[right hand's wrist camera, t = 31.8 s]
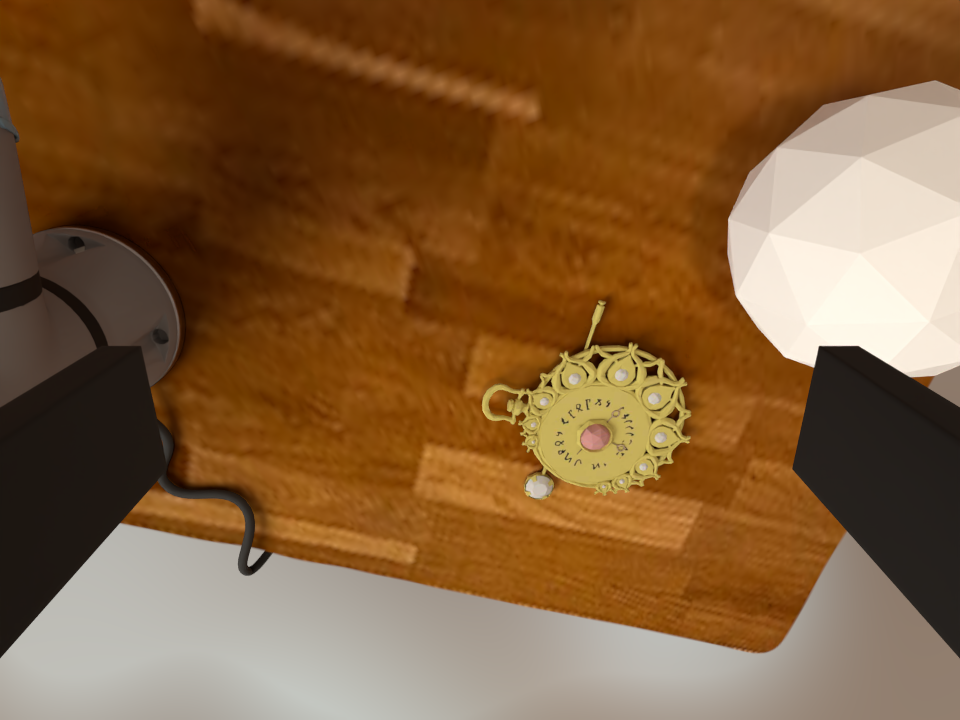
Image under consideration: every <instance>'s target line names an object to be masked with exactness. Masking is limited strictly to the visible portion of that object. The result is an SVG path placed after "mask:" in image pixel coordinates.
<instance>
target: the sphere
mask: <svg viewBox="0 0 960 720" xmlns="http://www.w3.org/2000/svg"><path fill="white" fill-rule="evenodd" d="M728 259H729V264H730V269H731V274H732V279H733V284H734V289H735V294H736V297H737V298H738V300H739V301H740V303H741V304H742V306H743V307H744V308H745V310H746V311H747V313H748V314H749V316H750V317H751V319H752V320H753V322H754V323H755V324H756V326H757V327H758V328H759V330H760V331H761V332H762V333H763V334H764V335H765V336H766V337H767V338H768V339H769V340H770V341H771V343H772V344H773V345H774V346H775V347H776V348H777V349H778V350H779V351H780V352H781V353H782V355H783V356H784V357H786V358H789V359H792V360H794V361H797V362H800V363H803V364H806V365H809V366H811V367H814V366H815V362H816V357H817V352H818V348H819V346H859V347H861V348H863V349H864V350H866V351H868V352H869V353H871V354H873V355H874V356H876V357H878V358H879V359H881V360H883V361H884V362H886V363H887V364H889V365H891V366H892V367H894V368H896V369H897V370H899V371H901V372H902V373H904V374H906V375H907V376H909V377H921V376H935V375H938V374H940V373H943V372H945V371H947V370H950V369H952V368H955V367H957V366H959V365H960V90H958V89H956V88H953V87H951V86H948V85H946V84H943V83H941V82H938V81H936V80H935V81H930V82H925V83H921V84H916V85H912V86H907V87H903V88H898V89H894V90H889V91H884V92H880V93H875V94H871V95H866V96H862V97H857V98H852V99H848V100H843V101H839V102H834V103H830V104H825V105H823V106H822V107H821V108H819V109H818V110H817V111H816V112H815V113H814V114H813V115H812V116H811V117H810V118H808V119H807V120H806V121H805V122H804V123H803V124H802V125H801V126H800V127H799V128H798V129H796V130H795V131H794V132H793V133H792V134H791V135H790V136H789V137H788V138H787V139H785V140H784V141H783V142H782V143H781V144H780V145H779V146H778V147H777V148H776V149H775V150H773V151H772V152H771V153H770V154H769V155H768V156H767V157H766V158H765V159H764V160H762V161H761V162H760V163H759V164H758V165H757V166H756V167H755V168H754V169H753V170H751V171H750V172H749V174H748V176H747V179H746V181H745V183H744V185H743V188H742V190H741V192H740V194H739V196H738V199H737V201H736V203H735V205H734V207H733V210H732V212H731V214H730V216H729V218H728Z"/></svg>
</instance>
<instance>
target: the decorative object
mask: <svg viewBox="0 0 960 720" xmlns="http://www.w3.org/2000/svg"><path fill="white" fill-rule="evenodd" d="M598 302H599V304H597V306H596V309H595V312H594V315H593V318H592V322H593V324H592V327H591V330H590V333H589V336H588V339H587V342H586V345H585V348H584V351H582V352H580V353H577V354H575V355H573V356H571V357H569V356H568V351H565V353H560V356H561V357H562V358H563V361H562V362H561V363H560V364H558V365H557V366H556V367H555V368H554V369H553V370H552V371H550V372H549V373H548V374H544V373H541V374H540V378H541V380H542V382H541V383H540V385H539V386H538V387H537V389H536V390H534V391H529V389H526V390H527V391H525V389H524V388H521V389H520V390H519V389H512V388H510V387H509V386H507V385H505V384H501V383H499V384H495V385H493V386H492V387H491V388H489V389H488V390H487V392H486V393H485V395H484V397H483V401H482V408H483V412H484V414H485V415H486V417H487V418H488V419H490V420H494V421H498V420H507V421H510V422H511V424H514V423H515V421H516V418H515V415H519V414H520V413H521V412H524V413H525V415H526V416H527V417H526V418H525V419H524V421H519V423H518V425H522V426H523V428H524V431H523V432H521V433H520V435H523V436H525V437H526V440H525V442H522V443H523V444H522V445H526V446H527V447H528V450H527V452H529V451H530V449H533V451H534V454H535V456H536V457H537V458H538V459H539V461H540V462H541V463H542V465H543V466H544V468H543V471H542V472H536V473H534V474H532V475H529V476H528V477H527V479H526V482H525V484H524V490H525V493H526V495H527V496H529V497H531V498H534V499H545V498H547V497H549V495H550V494H551V493H552V490H553V487H554V482H553V480H552V478H551V477H549V476H548V475H547V474H546V473H545V472H546V470H548V471H550V472H551V473H552V474H553V475H554V476H556V477H558V478H560V479H562V480H563V481H565V482H568V483H571V484H574V485H577V486H581V487H589V488H596V489H597V491H595V492H594V494H596V493H598V492H601V493H603V496H604V495H606V492H608V491H609V490H610V491H612V492H614V494H617V491H618V490H625V493H627V492H629V490H628V487H630V486H631V485H632V484H638V485H640V486H644V484H643V481H644V479H647V478H651V477H655V479H656V480H658V478H659V477H660V475H657V469H658V466H660V465H662V464H664V463H667V464H671V463H673V460H672V459H671V454H672V450H673V449H675V448H676V447H677V446H678V445H679V444H680V443H681V442H686V443H689V442H690V441H689V439H690V436H683V435H682V433H681V431H682V428H683V425H684V420H685V419H687V418H689V417H690V416H691V414H690V413H691V411H690V410H687V409H685V402H684V396H683V393H682V390H681V387H682V386H687V382H684V381H685V380H684V378H681V379H680V380H679V381H677V379H676V377H675V376H674V374H673V372H672V371H671V370H670V369H669V368H668V367H667V366H666V365H665V364H664V362H665V361H664V359H662V358H660V359H658V358H656V357H654V356H653V355H651V354H650V353H647V352H645V351H642V350H639V349H636V348H637V347H638V345H637V344H634V345H633V344H632V342H631V343H629V347H626V346H619V345H617V346H600V347H599V346H598V345H595V346H594V345H593V346H592V347H591V349H588V347H589V344H590V341H591V338H592V336H593V333H594V330H595V327H596V324H597V323H598V322H599V321H600V319H601V316H602V313H603V310H604V308H605V306H603V305H604V304H606V302H604V301H601V300H599V301H598ZM612 351H619V352H621V353H618V354H614V355H611V354H609V353H606V352H612ZM596 353H599V354H600V355H601V356H602V357H605V358H606V359H604V360H603V361H602V362H601V363H600V364H599V366H598V368H597V369H596V368H595V366H594V365H593V364H592V363H591V362H589V361H588V360H589V359H590V358H591V357H592V355H593V354H596ZM630 353H631V355H630ZM637 355H638V356H641V357H644V358H646V359H648V360H650V361H648V362H642V360H641V359H640V358H639V357H638V356H637ZM631 356H632V358H633V359H634V360H635V362H636V363H637V364H634V363H633V360H632V358H631ZM580 358H581V359H580ZM619 358H621V359H619ZM617 359H619V360H617ZM613 361H615V362H614V363H613ZM572 362H573V363H578V365H576V364H573V363H572ZM612 363H613V364H612ZM611 364H612V365H611ZM655 364H657V365H658V366H659V367H658V371H657V372H658V376H647V377H646V375H647V372H646V368H645V367H651V366H653V365H655ZM610 365H611V366H610ZM582 366H583V367H584V368H585V369H586V371H587V372H588V373H589V376H588V378H587V377H586V371H585V370H584V369H583V368H582ZM635 367H638V371H637V377H636V380H635V381H634V382H632V381H633V379H634V378H635ZM563 368H564V369H563ZM562 369H563V371H561V370H562ZM606 371H607V378H608V379H607V378H606V376H605V373H606ZM663 371H664V372H665V373H666V374H667V376H668V377H669V379H667V378H665V377H663ZM560 374H561V378H562V384H563V385H564V386H565V387H563V386H561V380H560ZM543 377H545V378H543ZM551 378H552V381H551V382H552V386H553V387H550V386H546V384H547V383H548V381H549V380H550V379H551ZM596 378H597V379H598V380H596ZM631 382H632V383H631ZM656 383H659V384H656ZM663 383H666V384H669V385H664V384H663ZM545 386H546V387H545ZM566 387H567V388H566ZM645 387H646V388H645ZM498 390H505V391H508V392H511V393H515V394H519V395H518V399H515V400H514V401H513V399H509V401H508V404H507V410H508V411H510V412H511V410H512V414H513V415H512V417H509V416H503V415H495V414H493V413H491V411H490V409H489V406H488V405H489V400H490V398H491V396H492V395H493V393H494V392H496V391H498ZM634 390H635V391H634ZM642 390H643V391H642ZM673 391H674V394H673V398H671V395H672V392H673ZM524 394H528V396H529V402H528V403H526V404H524V403H523V401H522V399H520V398H521V397H522V396H523V395H524ZM551 394H552V395H551ZM678 399H679V403H678V402H677V400H678ZM669 400H670V402H669V403H668V404H667V405H666V406H664V405H665V404H666V403H667V402H668V401H669ZM535 405H536V406H537V408H540V409H542V410H538V409H537V408H536V407H535ZM663 406H664V407H663ZM662 407H663V408H662ZM675 407H676V408H677V409H678V411H680V412H679V419H678V421H677V423H675V421H674V420H673V419H671V418H667V417H666V416H668V415H669V414H670V413H672V411H673V410H674V408H675ZM528 408H529V410H528ZM660 408H662V409H661V410H657V409H660ZM654 410H657V411H654ZM685 413H687V414H686V415H685ZM651 417H652V418H654V419H655V420H654V421H653V423H652V421H651ZM662 424H663V425H662ZM664 425H666V426H664ZM667 426H668V427H667ZM670 427H671V428H673V429H671V428H670ZM674 431H675V433H674ZM526 432H527V434H528V436H527V434H525V433H526ZM650 443H651V444H650ZM651 445H653V446H655V447H658V449H654V448H653V447H652V446H651ZM666 446H668V447H667V448H660V447H666ZM646 450H647V452H648V453H646V454H644V453H645V452H646ZM656 456H659V458H657V457H656ZM666 457H667V458H668V461H666V460H664V459H665V458H666ZM650 459H651V460H652V462H653V463H652V462H651V460H650ZM654 468H655V469H654ZM653 469H654V472H653ZM629 470H630V471H629ZM635 470H636V471H637V472H638V473H635ZM628 471H629V473H626V472H628ZM611 480H612V481H611ZM634 480H640V481H639V482H640V483H639V482H637V481H634ZM610 481H611V482H610ZM627 484H628V485H627ZM611 487H614V488H615V491H614V490H613V489H611Z"/></svg>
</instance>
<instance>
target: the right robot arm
mask: <svg viewBox="0 0 960 720" xmlns="http://www.w3.org/2000/svg"><path fill="white" fill-rule="evenodd" d="M18 141H19V134H18V132H17V130H16V128H15V127H14V125H13V124H12V121H11V117H10V113H9V108H8V104H7V100H6V96H5V91H4V87H3V83H2V80H1V78H0V658H1V657H2V656H3V654H4V653H5V652H6V651H7V650H8V649H9V648H10V647H11V645H12V644H13V643H14V642H15V641H16V640H17V639H18V637H19V636H20V635H21V634H22V633H23V632H24V631H25V630H26V628H27V627H28V626H29V625H30V624H31V623H32V622H33V621H34V619H35V618H36V617H37V616H38V615H39V614H40V613H41V612H42V610H43V609H44V608H45V607H46V606H47V605H48V604H49V602H50V601H51V600H52V599H53V598H54V597H55V596H56V595H57V593H58V592H59V591H60V590H61V589H62V588H63V587H64V586H65V584H66V583H67V582H68V581H69V580H70V579H71V578H72V577H73V575H74V574H75V573H76V572H77V571H78V570H79V569H80V567H81V566H82V565H83V564H84V563H85V562H86V561H87V560H88V558H89V557H90V556H91V555H92V554H93V553H94V552H95V551H96V549H97V548H98V547H99V546H100V545H101V544H102V543H103V541H104V540H105V539H106V538H107V537H108V536H109V535H110V534H111V532H112V531H113V530H114V529H115V528H116V527H117V526H118V525H119V523H120V522H121V521H122V520H123V519H124V518H125V517H126V516H127V514H128V513H129V512H130V511H131V510H132V509H133V508H134V506H135V505H136V504H137V503H138V502H139V501H140V500H141V499H142V497H143V496H144V495H145V494H146V493H147V492H148V491H149V490H150V488H151V487H152V486H153V485H154V484H155V483H156V482H157V481H158V482H159V484H160V485H161V486H162V488H164V489H165V490H166V491H167V492H168V493H170V494H172V495H174V496H177V497H181V498H188V499H205V498H218V499H225V500H229V501H231V502H233V503H235V504H236V505H237V506H238V507H239V508H240V509H241V511H242V512H243V515H244V517H245V535H244V539H243V543H242V547H241V551H240V554H239V559H238V568H239V571H240V572H241V573H242V574H243V575H246V576H249V575H252V574H254V573H255V572H257V571H258V570H259V569H260V568H261V567H262V566H263V565H264V564H265V563H266V561H267V560H268V559H269V557H270V556H271V555H272V554H273V553H271V552H267V551H264V552H263V554H262V555H261V556H260V557H259V558H258V560H257V561H256V562H255V563H254V564H253V565H251V566H250V567H248V566H247V561H248V556H249V553H250V549H251V546H252V542H253V537H254V531H255V520H254V514H253V512H252V509H251V507H250V506H249V504H248V503H247V501H246V500H245V499H244V498H242V497H241V496H240V495H238V494H236V493H234V492H231V491H227V490H215V489H209V490H189V489H183V488H180V487H178V486H176V485H174V484H173V483H172V482H171V481H170V480H169V479H168V478H167V474H166V472H167V469H168V468H167V467H168V464H169V461H170V459H171V456H172V453H173V448H174V443H173V439H172V436H171V433H170V432H169V430H168V429H167V428H166V427H165V426H164V425H163V424H162V423H161V422H160V421H159V420H158V419H157V417H156V413H155V408H154V403H153V399H152V394H151V389H150V387H151V386H153V385H154V384H155V383H156V382H158V381H159V380H160V379H161V378H163V377H164V376H165V375H166V374H167V373H168V372H169V371H170V370H171V368H172V367H173V366H174V365H175V363H176V361H177V360H178V358H179V355H180V353H181V351H182V347H183V344H184V339H185V317H184V311H183V307H182V304H181V301H180V298H179V295H178V293H177V291H176V289H175V287H174V285H173V283H172V281H171V280H170V278H169V277H168V275H167V274H166V273H165V271H164V270H163V269H162V268H161V266H160V265H159V264H158V263H157V262H156V261H155V260H154V259H153V258H152V257H151V256H150V255H149V254H148V253H147V252H145V251H144V250H143V249H141V248H140V247H139V246H137V245H136V244H134V243H133V242H131V241H129V240H127V239H126V238H124V237H122V236H120V235H117V234H115V233H113V232H110V231H107V230H104V229H100V228H96V227H90V226H80V225H71V226H62V227H56V228H53V229H49V230H45V231H41V232H38V233H36V234H33V235H32V229H31V224H30V219H29V213H28V208H27V203H26V197H25V192H24V187H23V181H22V176H21V171H20V165H19V160H18V155H17V150H16V144H15V143H16V142H18ZM161 439H162V440H161ZM162 441H163V445H162ZM792 469H793V470H794V471H795V473H796V474H797V475H798V476H799V477H800V478H801V479H802V481H803V482H804V483H805V484H806V485H807V486H808V487H809V488H810V490H811V491H812V492H813V493H814V494H815V495H816V496H817V497H818V499H819V500H820V501H821V502H822V503H823V504H824V505H825V506H826V508H827V509H828V510H829V511H830V512H831V513H832V514H833V516H834V517H835V518H836V519H837V520H838V521H839V522H840V523H841V525H842V526H843V527H844V528H845V529H846V530H847V531H848V532H849V534H850V535H851V536H852V537H853V538H854V539H855V540H856V541H857V543H858V544H859V545H860V546H861V547H862V548H863V549H864V551H865V552H866V553H867V554H868V555H869V556H870V557H871V558H872V560H873V561H874V562H875V563H876V564H877V565H878V566H879V567H880V569H881V570H882V571H883V572H884V573H885V574H886V575H887V576H888V578H889V579H890V580H891V581H892V582H893V583H894V584H895V585H896V587H897V588H898V589H899V590H900V591H901V592H902V593H903V595H904V596H905V597H906V598H907V599H908V600H909V601H910V602H911V604H912V605H913V606H914V607H915V608H916V609H917V610H918V612H919V613H920V614H921V615H922V616H923V617H924V618H925V619H926V621H927V622H928V623H929V624H930V625H931V626H932V627H933V628H934V630H935V631H936V632H937V633H938V634H939V635H940V636H941V637H942V639H943V640H944V641H945V642H946V643H947V644H948V645H949V647H950V648H951V649H952V650H953V651H954V652H955V653H956V654H957V656H958V657H959V658H960V407H958V406H957V405H955V404H953V403H952V402H950V401H948V400H947V399H945V398H943V397H942V396H940V395H939V394H937V393H935V392H934V391H932V390H930V389H929V388H927V387H925V386H924V385H922V384H920V383H919V382H917V381H915V380H914V379H912V378H911V377H909V376H907V375H906V374H904V373H902V372H901V371H899V370H897V369H896V368H894V367H892V366H891V365H889V364H887V363H886V362H884V361H883V360H881V359H879V358H878V357H876V356H874V355H873V354H871V353H869V352H868V351H866V350H864V349H863V348H861V347H859V346H819V348H818V352H817V357H816V362H815V366H814V371H813V376H812V380H811V385H810V389H809V394H808V399H807V403H806V408H805V413H804V417H803V422H802V426H801V431H800V436H799V440H798V445H797V450H796V454H795V459H794V464H793V468H792Z"/></svg>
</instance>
